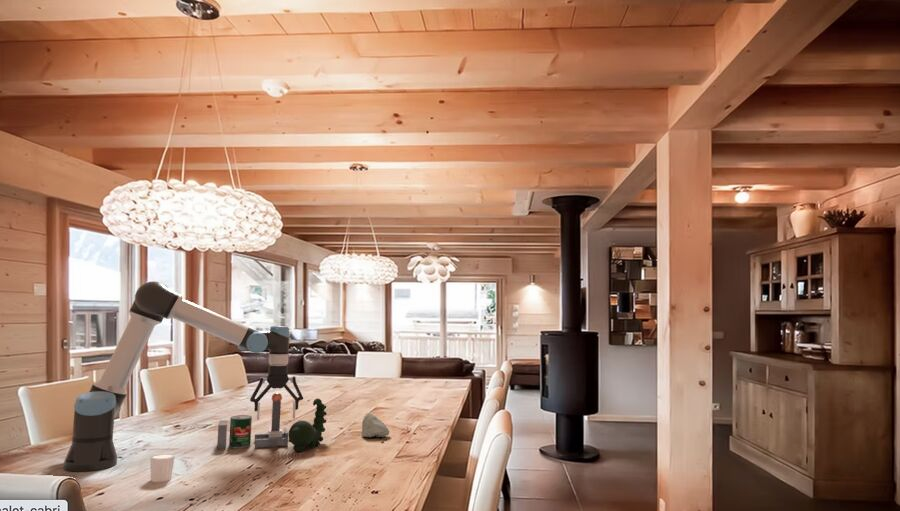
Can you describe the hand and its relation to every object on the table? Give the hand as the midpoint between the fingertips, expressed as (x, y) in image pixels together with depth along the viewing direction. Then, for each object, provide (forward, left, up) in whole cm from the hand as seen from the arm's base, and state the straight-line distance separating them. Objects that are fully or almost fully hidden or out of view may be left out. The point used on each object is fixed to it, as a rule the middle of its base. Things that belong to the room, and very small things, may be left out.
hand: (276, 418), depth 230 cm
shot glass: (-41, +36, -10) cm, 55 cm away
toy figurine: (-10, -11, -10) cm, 18 cm away
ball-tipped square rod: (0, 0, -9) cm, 9 cm away
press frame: (0, +8, -10) cm, 13 cm away
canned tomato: (0, +13, -10) cm, 16 cm away
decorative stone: (+3, -40, -10) cm, 42 cm away
